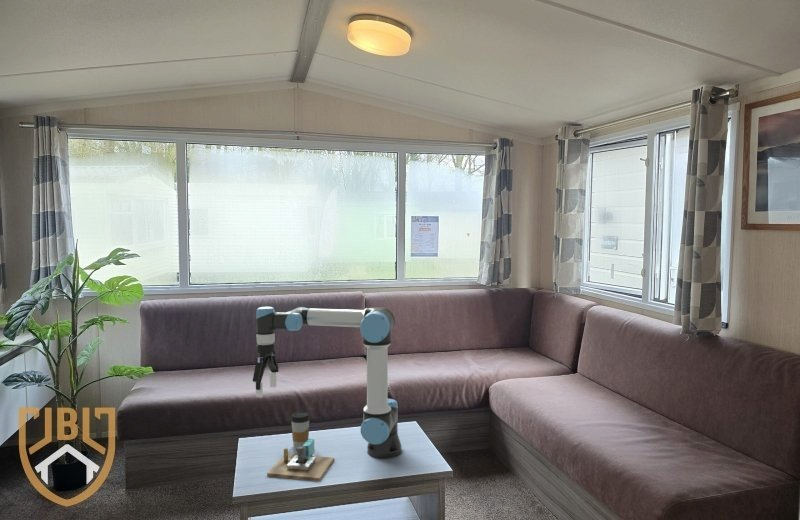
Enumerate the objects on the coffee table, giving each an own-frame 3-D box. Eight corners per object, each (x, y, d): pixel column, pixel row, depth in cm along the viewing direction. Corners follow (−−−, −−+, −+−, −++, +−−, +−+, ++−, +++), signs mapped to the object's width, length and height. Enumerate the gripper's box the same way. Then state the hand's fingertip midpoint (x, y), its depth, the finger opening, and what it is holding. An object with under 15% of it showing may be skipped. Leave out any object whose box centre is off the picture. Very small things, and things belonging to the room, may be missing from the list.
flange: (321, 453, 219) (321, 439, 218) (308, 470, 203) (308, 455, 203) (301, 451, 220) (301, 438, 220) (286, 468, 205) (286, 454, 204)
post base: (334, 460, 215) (334, 440, 215) (319, 481, 197) (319, 459, 197) (285, 456, 219) (285, 437, 219) (267, 476, 201) (266, 455, 201)
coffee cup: (305, 451, 223) (305, 418, 223) (288, 450, 225) (287, 417, 224) (312, 444, 232) (312, 411, 231) (295, 442, 233) (295, 410, 232)
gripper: (270, 336, 230) (270, 382, 232) (243, 349, 206) (244, 400, 207) (285, 337, 229) (286, 383, 230) (260, 350, 204) (261, 401, 206)
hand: (266, 391), depth 219 cm, fingers open, 13 cm apart
